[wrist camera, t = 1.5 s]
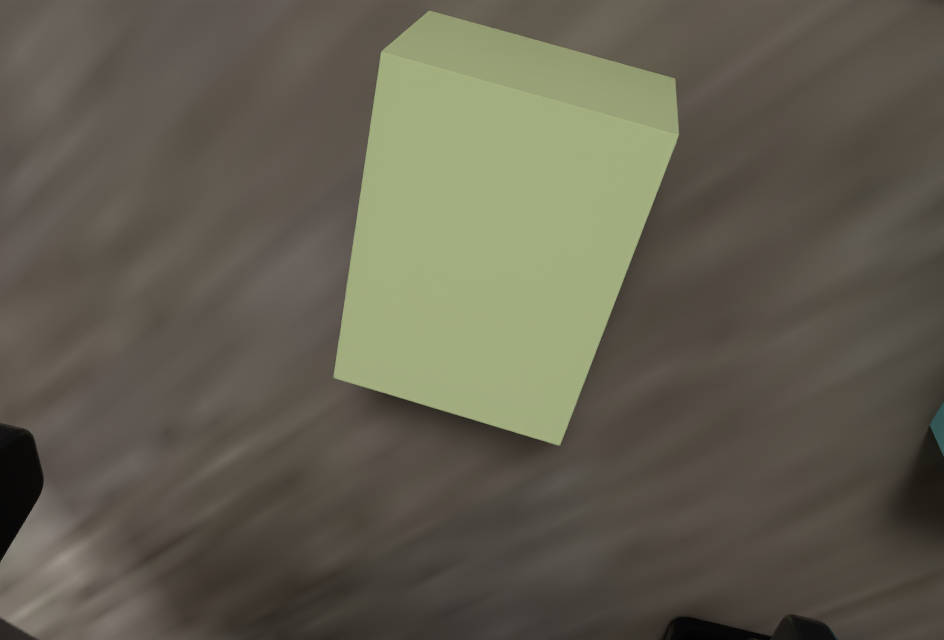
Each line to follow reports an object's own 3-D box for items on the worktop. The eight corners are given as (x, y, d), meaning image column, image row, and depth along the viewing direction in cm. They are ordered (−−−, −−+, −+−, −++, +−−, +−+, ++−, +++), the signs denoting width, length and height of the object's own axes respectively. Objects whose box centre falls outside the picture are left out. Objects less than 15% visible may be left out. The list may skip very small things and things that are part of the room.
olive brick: (574, 352, 19) (559, 445, 17) (381, 295, 20) (333, 377, 17) (674, 75, 16) (678, 134, 13) (431, 8, 16) (381, 51, 13)
